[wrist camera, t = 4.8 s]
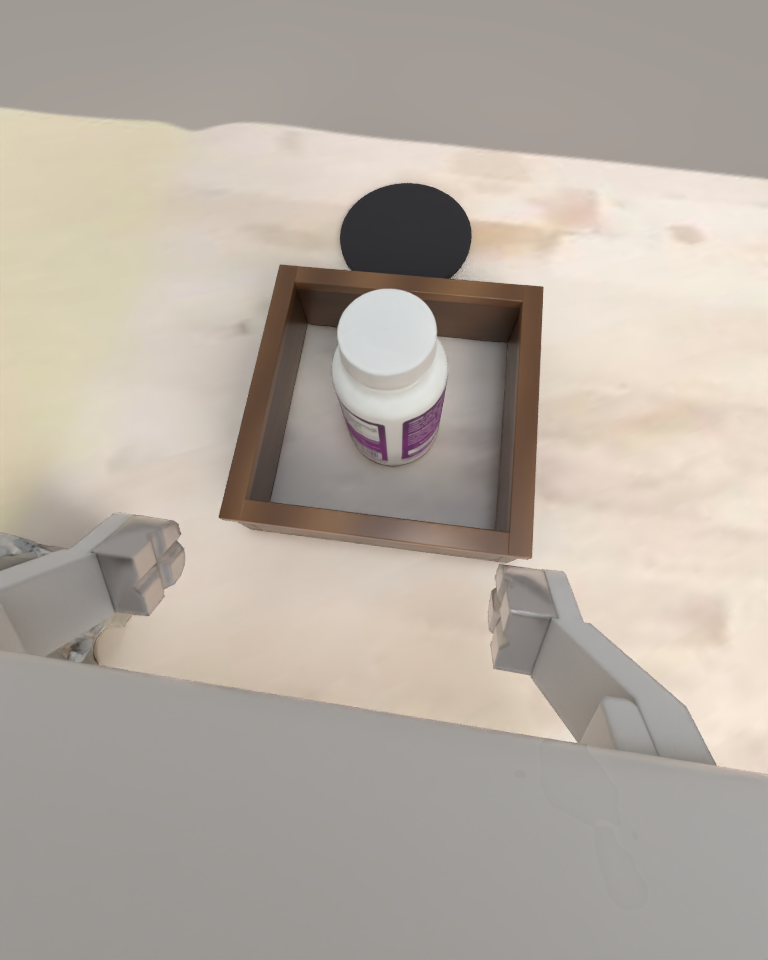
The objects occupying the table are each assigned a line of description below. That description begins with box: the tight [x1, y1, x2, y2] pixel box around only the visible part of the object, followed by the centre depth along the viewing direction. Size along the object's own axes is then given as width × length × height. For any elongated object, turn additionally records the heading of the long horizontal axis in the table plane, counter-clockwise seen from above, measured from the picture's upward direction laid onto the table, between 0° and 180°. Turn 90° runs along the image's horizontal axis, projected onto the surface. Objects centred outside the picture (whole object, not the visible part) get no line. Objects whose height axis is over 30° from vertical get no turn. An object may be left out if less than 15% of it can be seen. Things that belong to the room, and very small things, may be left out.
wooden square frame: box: [219, 265, 543, 563], centre depth 24 cm, size 15×15×4 cm
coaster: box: [340, 183, 471, 279], centre depth 30 cm, size 9×9×1 cm
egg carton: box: [0, 532, 132, 665], centre depth 21 cm, size 11×8×4 cm
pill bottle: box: [332, 289, 448, 465], centre depth 22 cm, size 5×5×10 cm
